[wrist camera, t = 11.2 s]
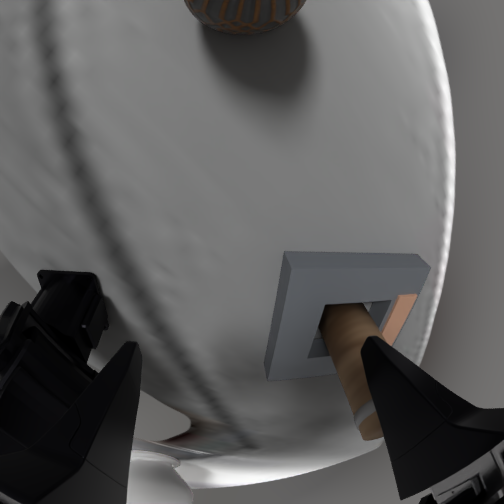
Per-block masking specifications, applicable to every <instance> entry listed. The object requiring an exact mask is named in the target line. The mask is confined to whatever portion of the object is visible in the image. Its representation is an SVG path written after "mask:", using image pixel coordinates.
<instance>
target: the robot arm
mask: <svg viewBox="0 0 504 504" xmlns="http://www.w3.org/2000/svg"><path fill="white" fill-rule="evenodd" d="M37 277H38V280H39V283H40V285H41V290H40V291H39V293H38V294H37V296H36V297H35V298H34V300H33V301H32V303H31V304H30V303H29V302H28V301H27V302H25V303H24V304H22V305H20V304H17V303H15V302H13V301H11V302H10V303H8V305H7V306H6V308H5V309H4V311H3V312H2V314H1V315H0V504H126V503H127V488H128V477H129V467H130V459H131V450H132V443H133V435H134V429H135V422H136V415H137V409H138V404H139V397H140V383H141V369H142V355H141V351H140V348H139V344H138V343H137V342H135V341H127V342H126V343H125V344H124V345H123V346H122V347H121V348H120V349H119V351H118V352H117V353H116V354H115V355H114V356H113V357H112V359H111V360H110V361H109V362H108V363H107V364H106V366H105V367H104V368H103V369H102V370H101V371H100V373H98V372H96V371H95V370H93V369H92V368H90V367H89V366H88V365H87V361H88V358H89V355H90V352H91V350H92V349H96V348H97V346H98V343H99V340H100V337H101V334H102V332H103V330H108V327H109V323H108V320H107V318H108V315H107V312H106V309H105V305H104V302H103V298H102V296H101V295H100V292H99V288H98V285H97V281H96V277H95V275H94V274H93V273H90V272H73V271H54V270H40V271H39V272H38V273H37ZM88 277H89V278H91V279H92V280H91V279H89V278H88ZM360 353H361V358H362V363H363V367H364V371H365V376H366V380H367V384H368V388H369V391H370V394H371V397H372V400H373V403H374V406H375V409H376V412H377V416H378V419H379V422H380V425H381V429H382V432H383V435H384V439H385V442H386V446H387V449H388V453H389V456H390V460H391V464H392V468H393V472H394V475H395V480H396V484H397V488H398V492H399V496H400V500H403V499H406V498H408V497H410V496H413V495H415V494H417V493H419V492H421V491H423V490H425V489H427V488H429V487H430V490H431V492H432V493H430V494H428V495H426V496H425V497H423V498H421V500H420V502H419V504H504V408H495V409H483V408H478V407H476V406H474V405H472V404H471V403H469V402H467V401H466V400H464V399H462V398H461V397H459V396H458V395H456V394H455V393H453V392H452V391H450V390H449V389H447V388H446V387H445V386H443V385H442V384H440V383H439V382H438V381H436V380H435V379H434V378H433V377H431V376H430V375H429V374H427V373H426V372H425V371H423V370H422V369H421V368H419V367H418V366H417V365H415V364H414V363H413V362H412V361H410V360H409V359H408V358H406V357H405V356H404V355H402V354H401V353H400V352H398V351H397V350H396V349H394V348H393V347H392V346H390V345H389V344H388V343H386V342H385V341H384V340H382V339H381V338H380V337H378V336H376V335H374V336H368V337H367V338H366V340H365V342H364V344H363V346H362V348H361V352H360Z"/></svg>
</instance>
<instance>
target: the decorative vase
mask: <svg viewBox="0 0 504 504" xmlns="http://www.w3.org/2000/svg"><path fill="white" fill-rule="evenodd" d="M130 461H131V462H130V467H129V477H128V488H127V503H126V504H193V493H192V491H191V489H190V487H189V486H188V485H187V483H186V482H185V481H184V480H183V479H182V478H181V477H180V475H179V474H178V473H177V472H176V471H175V470H174V469H173V468H176V467H178V466H180V461H179V460H178V459H176V458H174V457H172V456H169V455H165V454H161V453H156V452H151V451H143V450H131V459H130Z"/></svg>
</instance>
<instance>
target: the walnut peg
mask: <svg viewBox="0 0 504 504" xmlns="http://www.w3.org/2000/svg"><path fill="white" fill-rule="evenodd" d="M318 327H319V329H320V332H321V334H322V337H323V339H324V341H325V344H326V346H327V349H328V351H329V354H330V356H331V358H332V361H333V363H334V366H335V368H336V371H337V373H338V376H339V378H340V381H341V383H342V386H343V388H344V391H345V394H346V396H347V399H348V401H349V404H350V406H351V409H352V412H353V414H354V421H355V423H356V426H357V429H358V430H359V431H360V433H361V435H362V438H363V440H367V441H368V440H374V439H378V438H381V437H384V435H383V432H382V429H381V425H380V422H379V419H378V416H377V412H376V409H375V406H374V403H373V400H372V397H371V394H370V391H369V388H368V384H367V380H366V376H365V371H364V367H363V363H362V358H361V353H360V352H361V348H362V346H363V344H364V342H365V340H366V338H367V337H368V336H374V335H376V336H378V337H380V338H381V339H382V340H384V341H385V342H386V340H385V339H384V337H383V335H382V334H381V332H380V330H379V329H378V327H377V325H376V324H375V322H374V320H373V319H372V317H371V316H370V314H369V312H368V311H367V309H366V308H365V306H364V305H363V303H362V302H359V303H343V304H325V307H324V310H323V313H322V316H321V319H320V322H319V325H318ZM386 343H387V342H386Z"/></svg>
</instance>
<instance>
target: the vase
mask: <svg viewBox="0 0 504 504" xmlns="http://www.w3.org/2000/svg"><path fill="white" fill-rule="evenodd" d="M184 2H185V4H186V6H187V7H188V9H189V10H190V12H191V13H192V14H193V15H194V16H195V17H196V18H197V19H198V20H199V21H200V22H202V23H203V24H205V25H206V26H208V27H210V28H212V29H215V30H217V31H220V32H224V33H228V34H235V35H251V34H258V33H262V32H266V31H269V30H272V29H275V28H277V27H279V26H281V25H282V24H284V23H285V22H287V21H288V20H290V19H291V18H292V17H293V16H294V15H295V14H296V13H297V12H298V11H299V10H300V9H301V8H302V6H303V5H304V3H305V2H306V0H184Z"/></svg>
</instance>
